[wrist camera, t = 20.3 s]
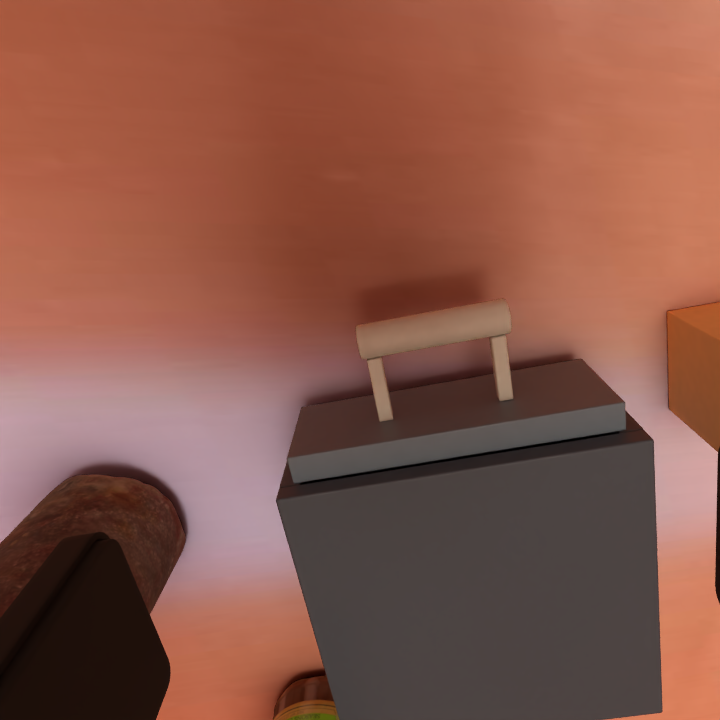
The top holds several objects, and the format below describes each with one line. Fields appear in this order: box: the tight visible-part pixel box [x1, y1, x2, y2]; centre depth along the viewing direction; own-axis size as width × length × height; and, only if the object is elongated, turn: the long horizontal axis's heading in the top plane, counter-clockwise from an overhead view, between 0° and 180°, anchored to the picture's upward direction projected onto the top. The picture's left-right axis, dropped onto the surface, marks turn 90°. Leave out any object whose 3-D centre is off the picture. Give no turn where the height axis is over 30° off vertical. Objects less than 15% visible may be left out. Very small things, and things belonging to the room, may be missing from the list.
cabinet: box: [276, 411, 662, 720], centre depth 27 cm, size 14×14×7 cm
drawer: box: [287, 298, 626, 483], centre depth 26 cm, size 17×13×5 cm
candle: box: [0, 474, 185, 618], centre depth 22 cm, size 8×7×20 cm
